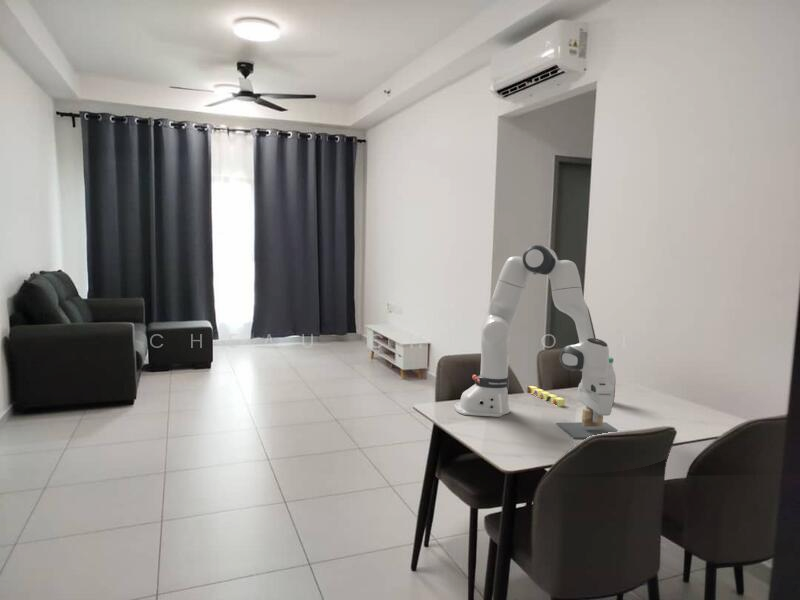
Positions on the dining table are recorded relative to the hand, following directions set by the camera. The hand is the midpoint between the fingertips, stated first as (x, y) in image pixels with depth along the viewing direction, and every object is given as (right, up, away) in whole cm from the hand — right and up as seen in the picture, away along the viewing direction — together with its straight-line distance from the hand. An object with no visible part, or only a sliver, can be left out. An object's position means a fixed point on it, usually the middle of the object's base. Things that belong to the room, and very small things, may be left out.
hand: (592, 420), depth 202 cm
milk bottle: (+19, -1, +40) cm, 44 cm away
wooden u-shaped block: (0, -2, 0) cm, 2 cm away
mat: (0, -4, 0) cm, 4 cm away
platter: (-8, -1, +41) cm, 41 cm away
